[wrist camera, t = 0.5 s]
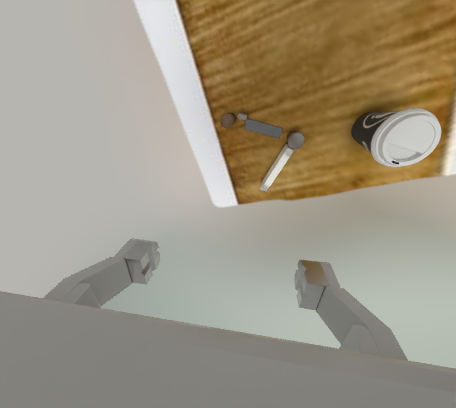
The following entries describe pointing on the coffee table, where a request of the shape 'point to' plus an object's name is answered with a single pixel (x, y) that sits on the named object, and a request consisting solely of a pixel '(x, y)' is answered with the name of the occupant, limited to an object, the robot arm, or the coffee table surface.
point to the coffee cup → (398, 135)
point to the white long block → (276, 167)
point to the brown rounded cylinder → (231, 119)
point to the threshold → (263, 128)
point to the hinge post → (295, 139)
